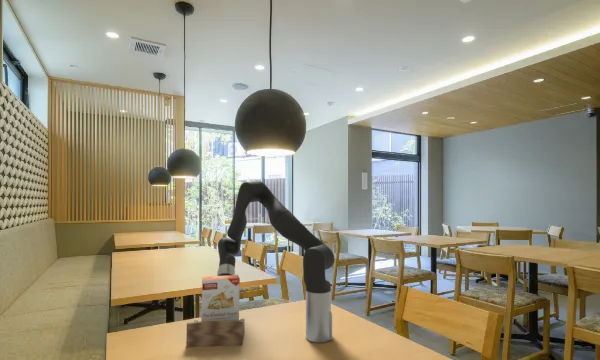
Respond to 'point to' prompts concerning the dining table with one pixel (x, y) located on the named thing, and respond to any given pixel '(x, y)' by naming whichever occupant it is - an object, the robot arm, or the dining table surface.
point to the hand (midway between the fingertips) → (221, 316)
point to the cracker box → (220, 298)
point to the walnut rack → (215, 333)
